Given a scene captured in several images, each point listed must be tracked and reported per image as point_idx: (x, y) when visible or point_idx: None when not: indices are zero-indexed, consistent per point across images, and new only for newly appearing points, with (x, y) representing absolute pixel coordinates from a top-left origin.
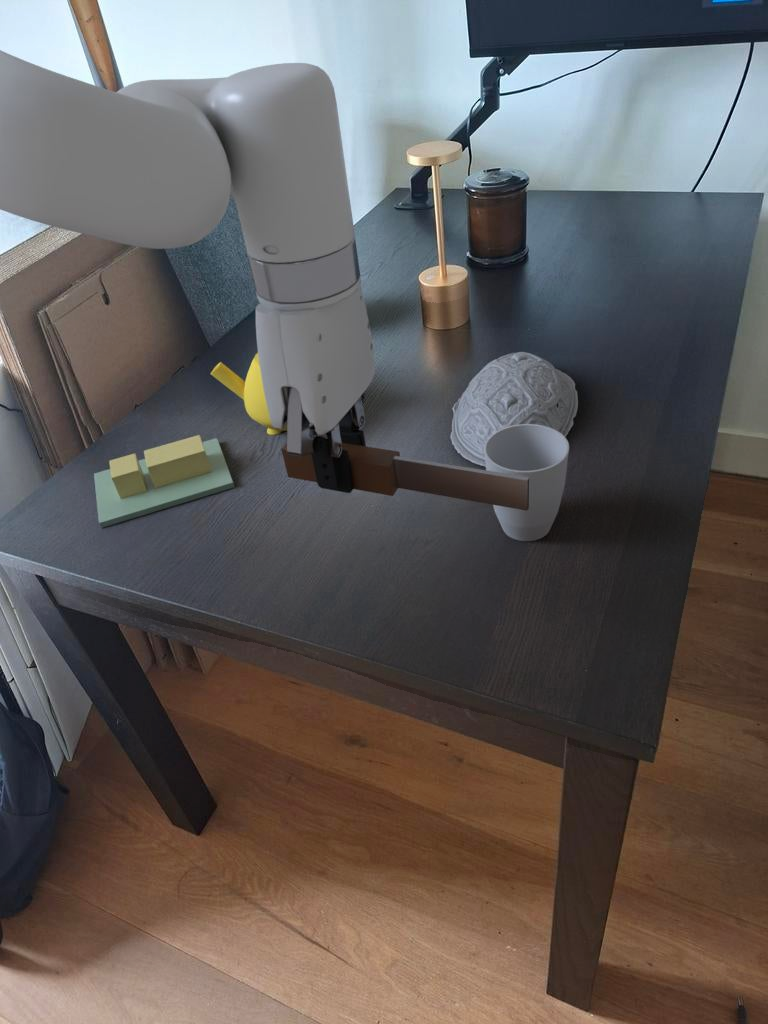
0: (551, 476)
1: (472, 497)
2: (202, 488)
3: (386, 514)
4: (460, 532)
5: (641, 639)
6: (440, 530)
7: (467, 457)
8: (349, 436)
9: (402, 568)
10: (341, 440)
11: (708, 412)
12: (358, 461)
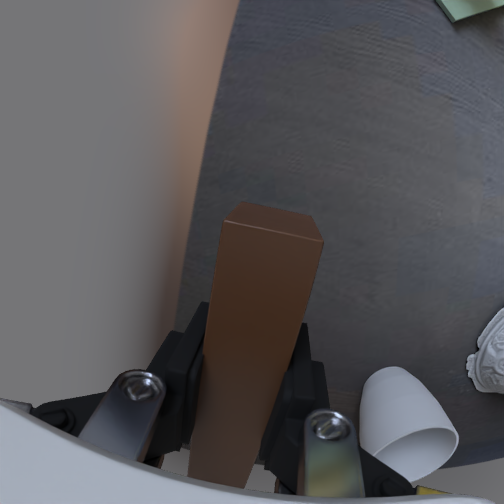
0: None
1: None
2: None
3: (423, 236)
4: (384, 329)
5: None
6: (390, 307)
7: (496, 316)
8: (266, 442)
9: (324, 275)
10: (272, 410)
11: (480, 461)
12: (192, 441)
